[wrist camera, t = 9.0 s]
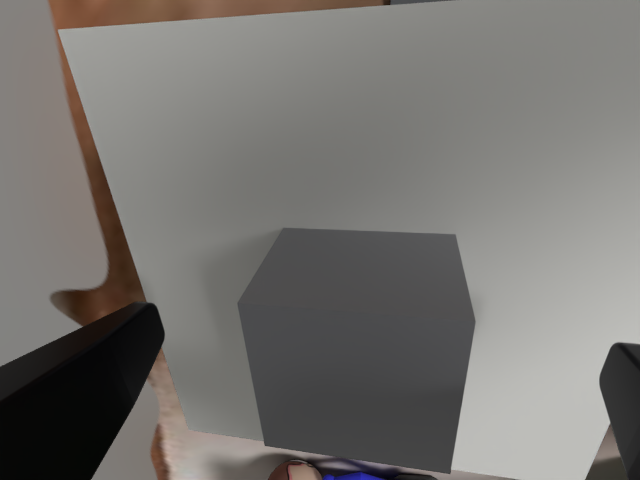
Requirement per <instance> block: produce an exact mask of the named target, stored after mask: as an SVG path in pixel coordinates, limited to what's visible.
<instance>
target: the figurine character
mask: <svg viewBox="0 0 640 480" xmlns="http://www.w3.org/2000/svg"><path fill="white" fill-rule="evenodd" d="M394 479H396V480H437V479H436V478H434V477H432V476H420V475H399V476H397V477H395V478H394ZM268 480H385V479H381V478H378V477H375V476H372V475H368V474H365V473H362V472H358V473H353V474H348V475H343V476H338V477H334V476H332V475H330V474H328V475H325V476H324V477H323V479H322V477H321V475H320V473H319V472H318V471H317V470H316V468H314V467H313V466H312V465H311V464H309V463H307V462H305V461H301V460H291V461H287V462H285V463H283V464H281V465H280V466H278V467H277V468H276V469H275V470H274V471H273V472H272V474H271V475H270V477H269V478H268Z"/></svg>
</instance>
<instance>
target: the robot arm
mask: <svg viewBox="0 0 640 480" xmlns="http://www.w3.org/2000/svg"><path fill="white" fill-rule="evenodd" d="M164 338H165V330H164V327H163V324H162V321H161V317H160V314H159V311H158V308H157V306H156V305H155V304H153V303H150V302H134V303H132V304H130V305H128V306H126V307H123V308H121V309H119V310H117V311H115V312H113V313H111V314H109V315H107V316H105V317H103V318H101V319H98V320H96V321H94V322H92V323H90V324H88V325H86V326H84V327H82V328H80V329H78V330H76V331H74V332H71V333H69V334H67V335H65V336H63V337H61V338H59V339H57V340H55V341H53V342H51V343H49V344H46V345H44V346H42V347H40V348H38V349H36V350H34V351H32V352H30V353H28V354H26V355H23V356H22V357H19V358H17V359H15V360H13V361H11V362H9V363H7V364H5V365H3V366H1V367H0V480H91V479H92V477H93V475H94V474H95V472H96V470H97V468H98V467H99V465H100V463H101V462H102V460H103V458H104V457H105V455H106V453H107V451H108V449H109V448H110V446H111V445H112V443H113V441H114V439H115V438H116V436H117V434H118V432H119V431H120V429H121V427H122V426H123V424H124V422H125V420H126V419H127V417H128V415H129V413H130V412H131V410H132V408H133V406H134V404H135V402H136V400H137V398H138V396H139V394H140V392H141V390H142V388H143V386H144V384H145V381H146V379H147V377H148V375H149V373H150V371H151V368H152V366H153V364H154V362H155V360H156V357H157V355H158V353H159V351H160V349H161V347H162V344H163V342H164ZM599 386H600V390H601V393H602V397H603V400H604V403H605V407H606V410H607V413H608V417H609V420H610V423H611V426H612V430H613V433H614V436H615V440H616V443H617V446H618V450H619V453H620V456H621V459H622V462H623V465H624V468H625V471H626V474H627V477H628V479H629V480H640V344H636V343H624V342H617V343H614V344H613V345H612V346H611V348H610V350H609V352H608V355H607V357H606V360H605V363H604V365H603V368H602V370H601V373H600V376H599Z"/></svg>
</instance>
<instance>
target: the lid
mask: <svg viewBox="0 0 640 480" xmlns="http://www.w3.org/2000/svg"><path fill="white" fill-rule="evenodd" d="M58 32H59V35H60V39H61V42H62V45H63V48H64V51H65V54H66V57H67V60H68V63H69V66H70V69H71V72H72V75H73V78H74V81H75V84H76V87H77V90H78V93H79V96H80V99H81V103H82V106H83V109H84V112H85V115H86V118H87V121H88V124H89V127H90V130H91V133H92V136H93V139H94V142H95V145H96V148H97V151H98V154H99V157H100V160H101V163H102V167H103V170H104V173H105V176H106V179H107V182H108V185H109V188H110V191H111V194H112V197H113V200H114V203H115V206H116V209H117V212H118V215H119V218H120V221H121V224H122V227H123V231H124V234H125V237H126V240H127V243H128V246H129V249H130V252H131V255H132V258H133V261H134V264H135V267H136V270H137V273H138V276H139V279H140V282H141V285H142V288H143V291H144V295H145V298H146V301H147V302H150V303H153V304H155V305H156V306H157V308H158V311H159V314H160V317H161V321H162V324H163V327H164V330H165V338H164V342H163V344H162V349H163V352H164V355H165V359H166V362H167V365H168V368H169V371H170V374H171V377H172V380H173V383H174V386H175V389H176V392H177V395H178V398H179V401H180V404H181V407H182V410H183V413H184V416H185V419H186V423H187V426H188V429H189V430H192V431H199V432H206V433H212V434H219V435H226V436H232V437H239V438H246V439H252V440H259V441H264V444H265V446H270V447H276V448H283V449H289V450H296V451H302V452H309V453H316V454H322V455H329V456H335V457H342V458H348V459H355V460H362V461H368V462H375V463H381V464H388V465H394V466H401V467H407V468H414V469H421V470H427V471H434V472H440V473H447V474H450V472H451V469H452V470H459V471H466V472H472V473H479V474H486V475H492V476H499V477H506V478H512V479H519V480H585V479H586V476H587V474H588V472H589V470H590V467H591V465H592V463H593V461H594V458H595V456H596V454H597V452H598V449H599V447H600V445H601V443H602V440H603V438H604V436H605V434H606V431H607V429H608V427H609V425H610V420H609V417H608V413H607V410H606V407H605V403H604V400H603V397H602V393H601V390H600V386H599V376H600V373H601V370H602V368H603V365H604V363H605V360H606V357H607V355H608V352H609V350H610V348H611V346H612V345H613V344H614V343H617V342H624V343H636V344H640V0H452V1H438V2H425V3H411V4H398V5H384V6H371V7H357V8H344V9H330V10H317V11H304V12H290V13H277V14H263V15H250V16H236V17H223V18H209V19H196V20H182V21H169V22H155V23H142V24H128V25H115V26H101V27H88V28H74V29H61V30H58Z"/></svg>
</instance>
